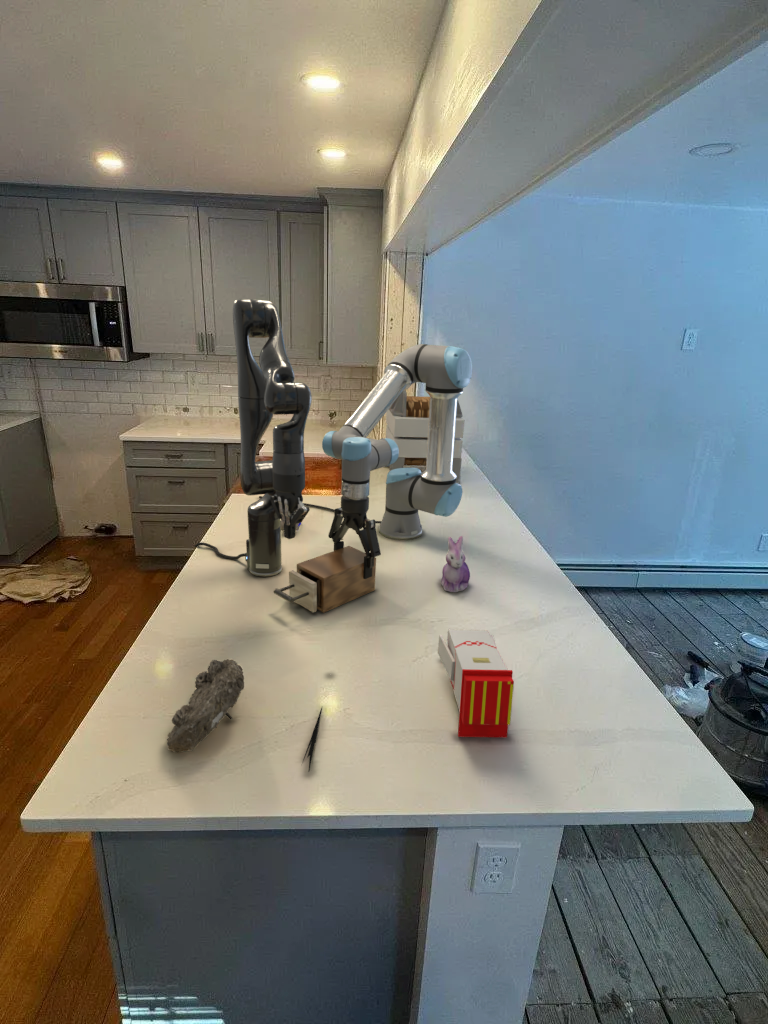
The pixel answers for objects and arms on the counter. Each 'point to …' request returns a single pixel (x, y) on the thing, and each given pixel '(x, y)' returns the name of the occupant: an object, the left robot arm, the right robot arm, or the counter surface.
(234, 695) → the fossil
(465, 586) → the figurine
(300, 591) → the drawer
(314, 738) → the feather
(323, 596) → the cabinet
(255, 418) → the left robot arm
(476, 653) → the toy
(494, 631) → the counter surface
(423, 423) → the white slatted crate
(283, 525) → the black toy vehicle
